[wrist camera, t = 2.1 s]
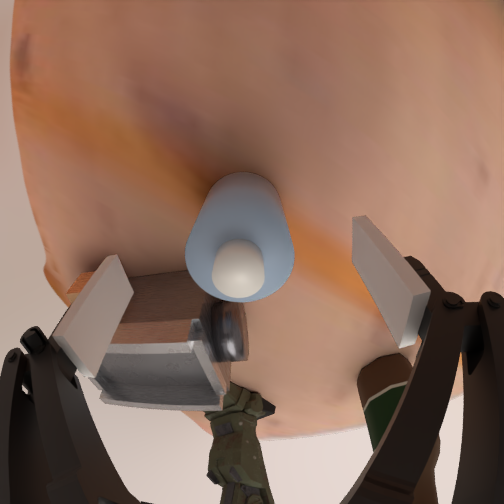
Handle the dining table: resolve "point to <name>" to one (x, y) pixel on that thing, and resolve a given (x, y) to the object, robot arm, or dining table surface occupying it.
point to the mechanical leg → (239, 448)
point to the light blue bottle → (240, 240)
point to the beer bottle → (383, 407)
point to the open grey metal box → (171, 345)
